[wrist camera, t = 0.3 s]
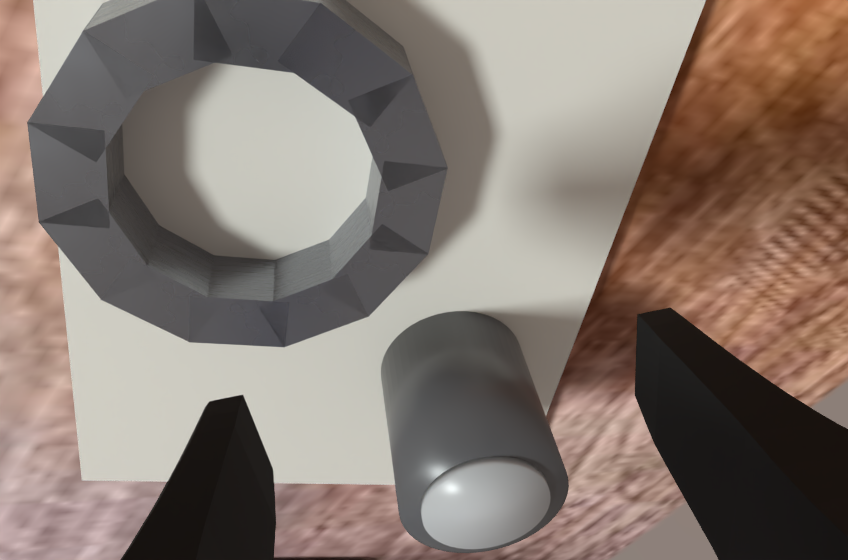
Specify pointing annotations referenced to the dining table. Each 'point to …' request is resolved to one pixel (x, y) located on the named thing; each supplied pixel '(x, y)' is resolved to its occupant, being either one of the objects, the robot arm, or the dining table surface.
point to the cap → (468, 435)
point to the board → (345, 190)
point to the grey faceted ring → (180, 259)
